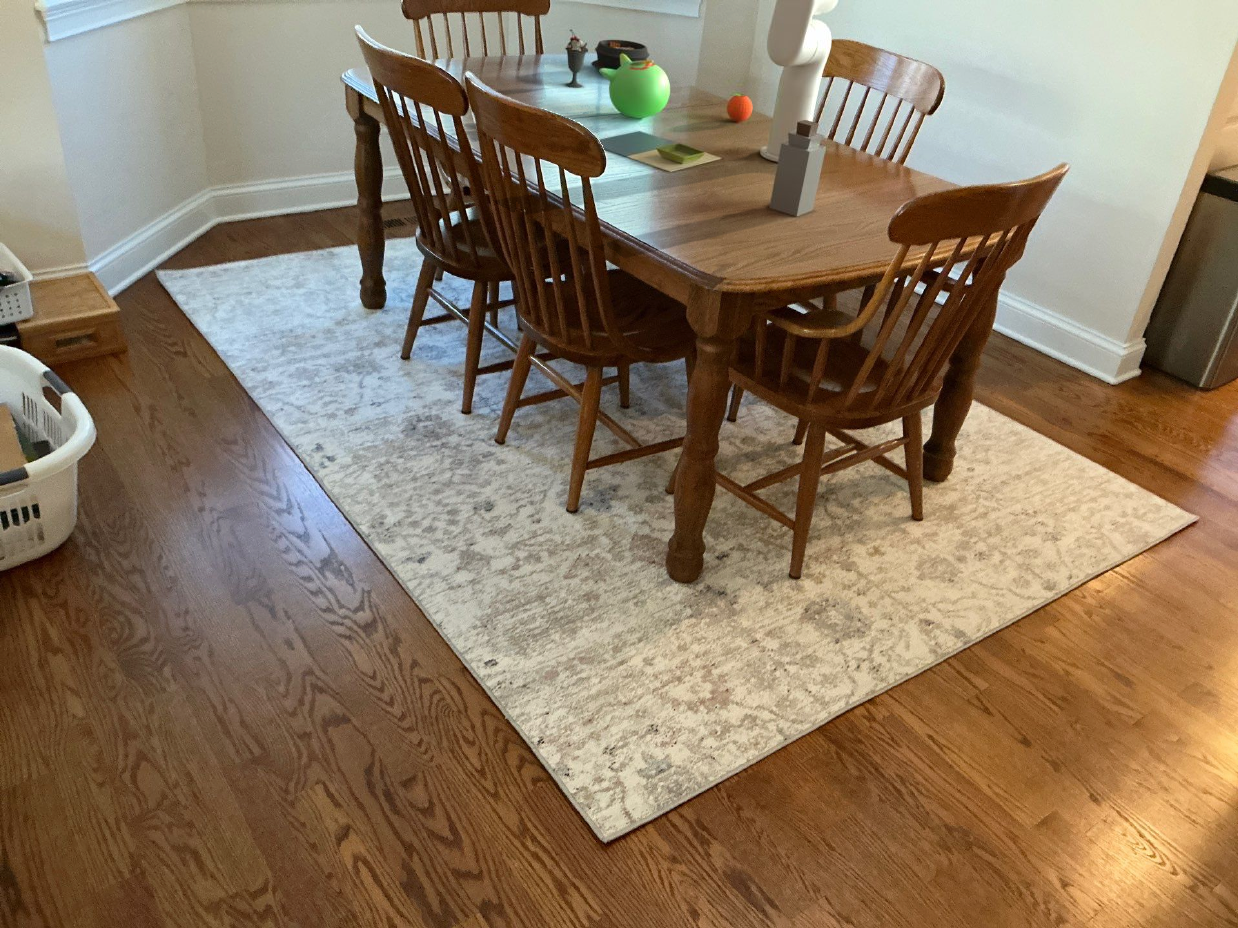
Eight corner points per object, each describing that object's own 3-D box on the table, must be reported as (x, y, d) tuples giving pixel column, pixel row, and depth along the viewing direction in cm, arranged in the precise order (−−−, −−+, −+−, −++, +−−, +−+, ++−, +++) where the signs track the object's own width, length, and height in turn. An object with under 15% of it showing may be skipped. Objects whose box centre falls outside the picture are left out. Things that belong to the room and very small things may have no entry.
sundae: (558, 83, 287) (562, 27, 279) (579, 82, 290) (583, 28, 281) (567, 88, 282) (571, 32, 274) (588, 88, 285) (593, 33, 277)
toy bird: (654, 129, 254) (661, 69, 246) (593, 117, 257) (598, 58, 249) (674, 115, 268) (681, 58, 260) (616, 104, 272) (621, 48, 264)
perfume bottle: (785, 201, 213) (802, 116, 203) (812, 210, 210) (830, 124, 200) (769, 207, 209) (785, 121, 199) (796, 216, 205) (814, 129, 196)
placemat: (721, 158, 237) (721, 158, 236) (669, 172, 223) (669, 171, 223) (639, 132, 250) (639, 131, 250) (586, 143, 237) (586, 142, 236)
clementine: (718, 121, 267) (722, 94, 264) (724, 115, 273) (728, 89, 269) (747, 126, 266) (751, 99, 262) (752, 121, 271) (756, 94, 267)
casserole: (586, 62, 315) (589, 34, 310) (644, 66, 318) (646, 39, 313) (594, 80, 294) (597, 50, 290) (655, 85, 297) (658, 55, 293)
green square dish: (705, 161, 233) (706, 152, 232) (682, 166, 227) (683, 157, 226) (677, 151, 237) (678, 142, 236) (654, 156, 232) (655, 147, 231)
